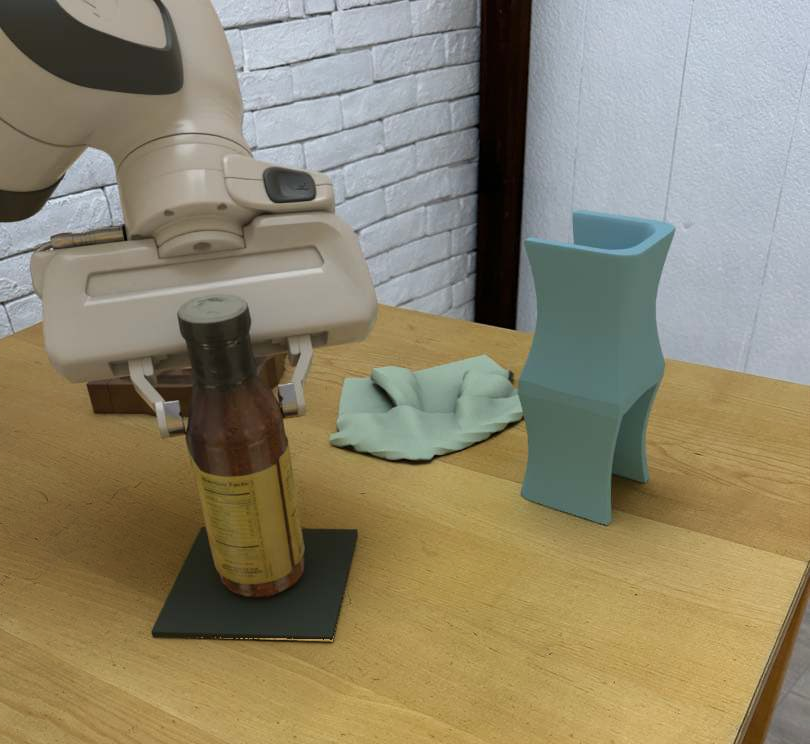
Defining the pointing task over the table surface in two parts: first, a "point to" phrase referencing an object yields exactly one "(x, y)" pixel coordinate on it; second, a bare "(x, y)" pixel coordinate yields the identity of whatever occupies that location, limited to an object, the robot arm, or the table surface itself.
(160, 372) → the bottle rack
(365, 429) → the cloth
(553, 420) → the teal waisted open shell
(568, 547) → the table surface
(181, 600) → the mat
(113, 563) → the table surface
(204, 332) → the sauce bottle
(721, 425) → the table surface
